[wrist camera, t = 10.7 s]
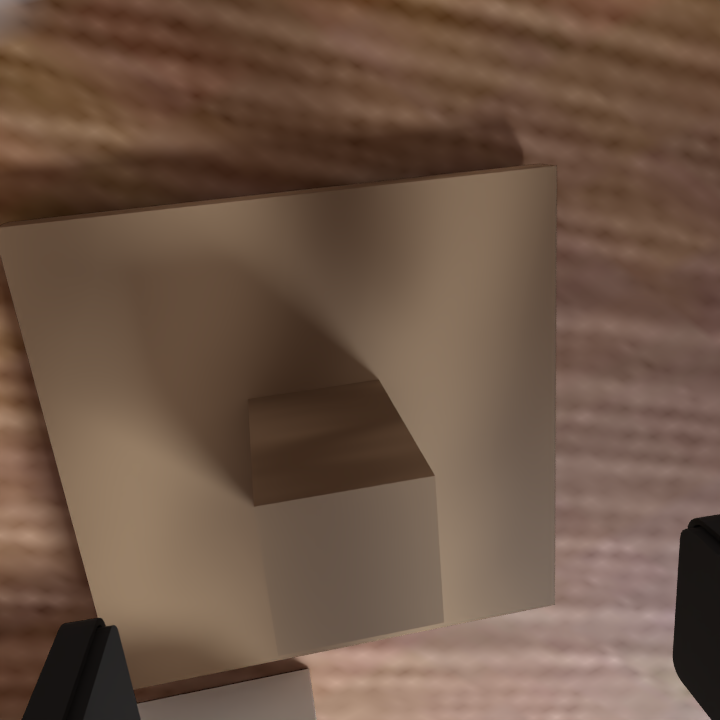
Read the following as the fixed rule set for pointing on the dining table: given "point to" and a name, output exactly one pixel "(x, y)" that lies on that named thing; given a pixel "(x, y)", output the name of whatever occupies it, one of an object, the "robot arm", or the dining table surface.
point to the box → (240, 701)
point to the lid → (301, 411)
